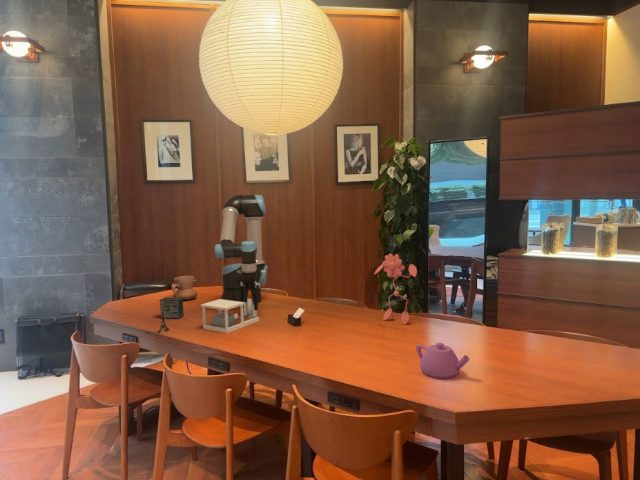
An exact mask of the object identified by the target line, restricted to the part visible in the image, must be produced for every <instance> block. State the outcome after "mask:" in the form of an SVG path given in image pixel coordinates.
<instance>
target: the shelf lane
mask: <svg viewBox="0 0 640 480" xmlns="http://www.w3.org/2000/svg"><path fill="white" fill-rule="evenodd" d="M244 304H245V303H244V302H238V301H230V300H222V299H221V298H219V299H215V300H212V301H208V302H206V303H205V302H204V303H202V304H200V308H201V309H202V328H203V330H209V331H214V332H218V333H224V334H229V333H231V332H233V331H236V330H239V329H241V328H243V327H246V326H249V325H252V324H254V323H256V322H259V321H260V316H255V317H254V318H249V319H248V320H245V318H244V309H243V305H244ZM238 307H239V308H240V309H239V312H240V317H241V319H240V323H237V324H235V325H234V326H232V327H229V328H228V311H229V310H232V309H235V308H238ZM206 308H208V309H214V310H218V314H221V313H223V311H224V313H225V328H222V327H216V326H212V321H211V322H208V323H207V313H206V312H207V311H206ZM233 314H234V313H233ZM238 318H239V313H235V314H234V319H238ZM244 320H245V321H244Z"/></svg>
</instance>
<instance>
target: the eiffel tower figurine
mask: <svg viewBox="0 0 640 480" xmlns="http://www.w3.org/2000/svg"><path fill="white" fill-rule="evenodd" d="M161 331H165V332H164V333H166V332H169V331H171V329H170V328H169V327H168V325H167V323H166V319H164V314H163V306H162V319H161V323H160V326H159V329H158V331H157V333H152V335H154V336H157V335H160V334H162V333H160V332H161ZM144 334H148V335H151V332H150V331H145V332H144Z"/></svg>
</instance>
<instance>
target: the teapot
mask: <svg viewBox="0 0 640 480" xmlns="http://www.w3.org/2000/svg"><path fill="white" fill-rule="evenodd" d="M415 349H416V353H417V355H418V357H419V359H420V363H419V367H420V369H421V371H422V373H424V375H426V376H428V377H431V378H436V379H450V378H453V377H456V375H457V374H458V373H459V372H460V371H461V369H462V368H463V367H464V366H465V365H466V364H467V363H468V362H469V361H470V359H471V358H470V357H469V356H468V355H466V354H464V355H463V356H462V357H461V358H460V359H458V357H457V354H456V353H455V351H454V350H453V349H452V347H450V346H448V345H445V344H444V343H443V342H436V343H435V344H433V345H430V346H425V345H423V344H416V346H415ZM422 349H423V350H425V351H424V353H422Z"/></svg>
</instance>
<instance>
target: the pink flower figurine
mask: <svg viewBox="0 0 640 480" xmlns="http://www.w3.org/2000/svg"><path fill="white" fill-rule="evenodd" d="M384 258H385V259H384V260H383V262H381V264H380V266H378V267H377V269H375V271H374V274H373V275H376V274H378V273H379V272H380V271H381V270H382V269H383V272H385V273H386V275H387V278H394V279H393V280H392V283H393V288H394V292H393V294H391V295H388V298H391V297H392V296H395V297H398V296H399V297H401V298H403V299H405V300H406V304H405V310H404V311H403V312H402V314H401V315H400V316H401V321H402V322H403V324H404V325H406V324H408V323H409V319H410V316H409V313H408V311H407V306H408V299H407V298H405V297H404V296H403V295H400V291H398V290H397V288H396V284H395V281H396V280H397V279H398V278H399V277H404V278H407V279H410V277H411V276H412V277H413V278H416V276H417V273H418V270H417V269H418V268H417V267H416V266H415V265H414V264H412V263H410V264H409V266H408V272H409V273H408V275H409V276H408V275H403V274H402V272H403V271H404V270H405V268H406V267H405V265H403V263H402V262H403V260H402V259H400V256H399V254H398V253H396V254H395V255H393V254H392V253H388V255H385V256H384ZM388 307H389V308H388V309H386V311H385V312H384V313H383V316H382V317H383V319H382V320H383V321H386V320H388V319H389V318H390V316H391V318H392V320H394V319H395V318H394V316H393V309H392V308H391V303H390V299H388ZM377 325H378V326H381V327H383V328H386V326H383V325H381V324H379V323H378V324H377ZM387 328H388V329H391V327H387ZM394 329H395V330H396V329H399V327H394Z"/></svg>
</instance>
